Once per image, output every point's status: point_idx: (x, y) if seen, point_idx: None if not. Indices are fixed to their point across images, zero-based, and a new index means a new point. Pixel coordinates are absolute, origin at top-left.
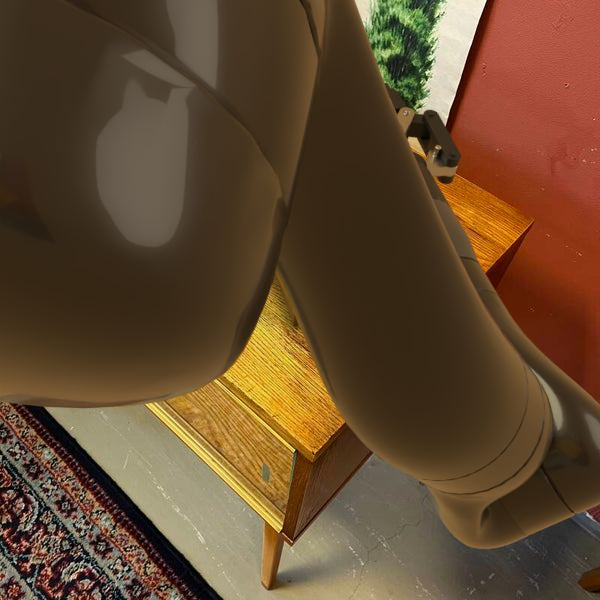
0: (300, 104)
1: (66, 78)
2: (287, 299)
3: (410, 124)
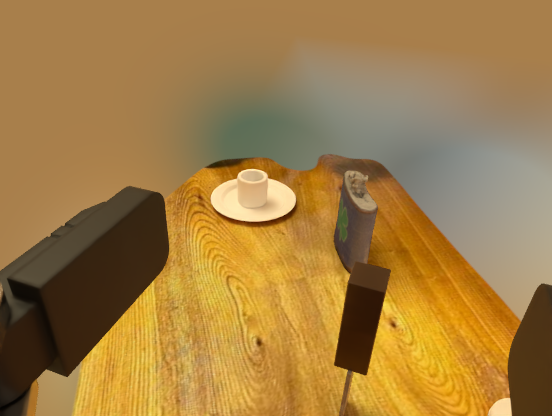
0: None
1: None
2: None
3: None
